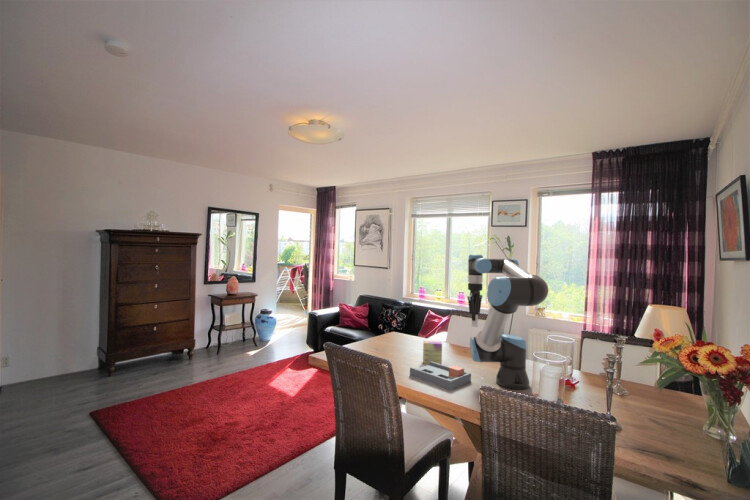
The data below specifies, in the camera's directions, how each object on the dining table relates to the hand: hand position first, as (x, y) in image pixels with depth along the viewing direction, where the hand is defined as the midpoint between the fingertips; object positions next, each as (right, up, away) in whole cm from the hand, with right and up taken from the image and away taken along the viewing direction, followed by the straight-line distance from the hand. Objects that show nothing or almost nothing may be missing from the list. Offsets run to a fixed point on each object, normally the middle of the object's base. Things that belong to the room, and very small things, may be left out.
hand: (474, 326), depth 192 cm
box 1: (-21, -24, +12) cm, 34 cm away
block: (-14, -21, -17) cm, 30 cm away
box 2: (-21, -23, -14) cm, 34 cm away
